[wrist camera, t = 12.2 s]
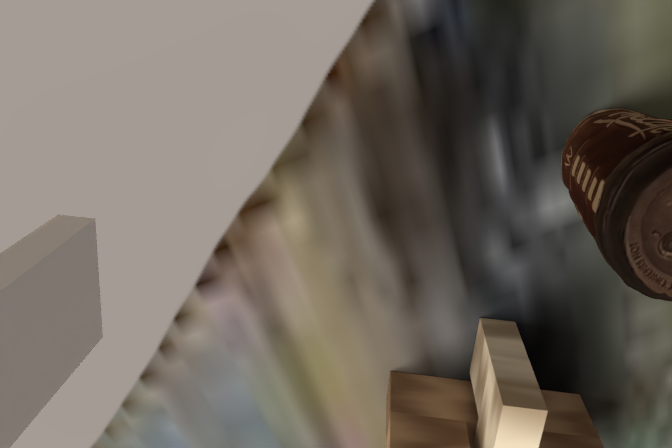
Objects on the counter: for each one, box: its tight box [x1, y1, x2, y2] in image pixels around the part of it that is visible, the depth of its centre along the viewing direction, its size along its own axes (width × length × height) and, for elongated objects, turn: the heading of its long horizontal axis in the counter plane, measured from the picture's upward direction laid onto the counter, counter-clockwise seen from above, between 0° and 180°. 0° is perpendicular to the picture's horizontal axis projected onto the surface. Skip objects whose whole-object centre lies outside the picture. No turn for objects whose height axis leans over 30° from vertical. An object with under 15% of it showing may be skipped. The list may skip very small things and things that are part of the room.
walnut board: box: [386, 371, 604, 448], centre depth 42 cm, size 14×2×10 cm, turn 85°
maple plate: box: [470, 318, 548, 448], centre depth 42 cm, size 13×2×10 cm, turn 175°
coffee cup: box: [561, 109, 672, 301], centre depth 33 cm, size 9×8×13 cm
